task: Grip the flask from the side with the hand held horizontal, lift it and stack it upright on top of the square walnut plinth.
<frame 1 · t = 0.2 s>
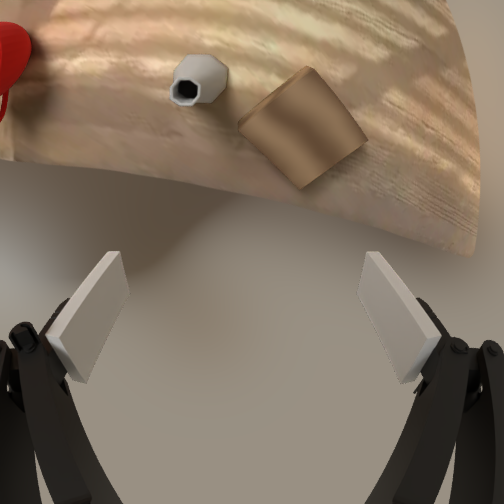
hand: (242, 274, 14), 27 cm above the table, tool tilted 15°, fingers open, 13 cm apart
ceramic cup: (19, 63, 21), on the table
plinth: (301, 123, 34), on the table
flask: (200, 78, 29), on the table
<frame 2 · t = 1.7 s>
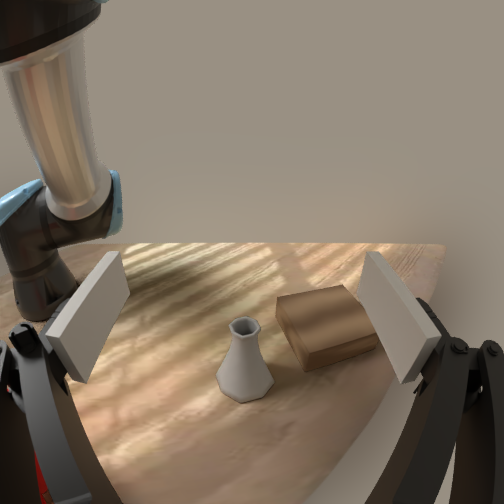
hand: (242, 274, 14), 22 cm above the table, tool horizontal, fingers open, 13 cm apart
plinth: (324, 333, 41), on the table
flask: (244, 381, 33), on the table
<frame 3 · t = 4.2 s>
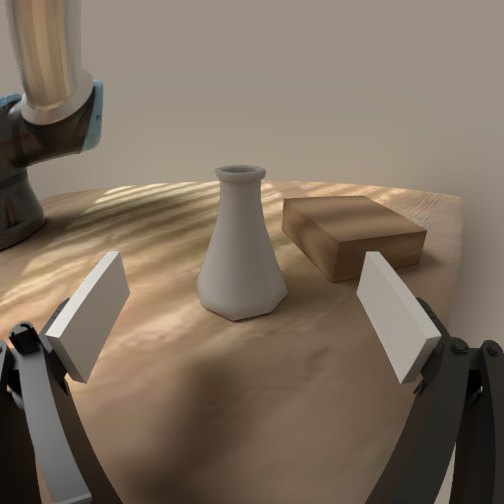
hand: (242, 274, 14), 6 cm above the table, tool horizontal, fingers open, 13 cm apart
plinth: (349, 245, 30), on the table
flask: (240, 294, 23), on the table
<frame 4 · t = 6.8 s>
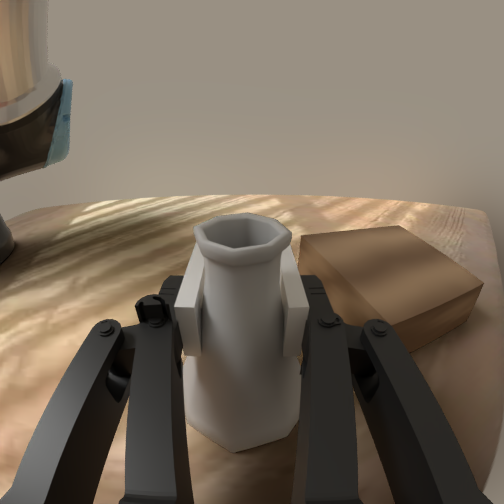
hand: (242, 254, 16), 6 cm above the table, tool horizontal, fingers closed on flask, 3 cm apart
plinth: (385, 299, 22), on the table
flask: (243, 397, 14), on the table, touching gripper
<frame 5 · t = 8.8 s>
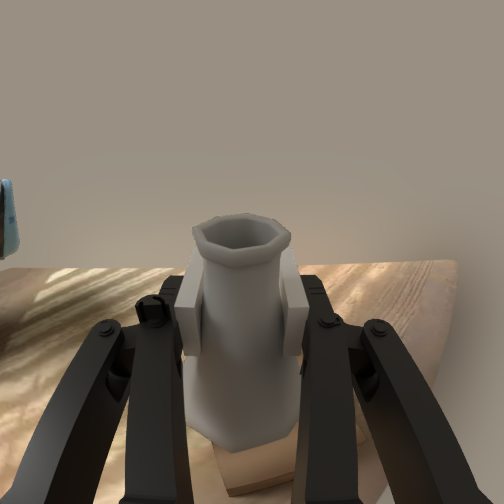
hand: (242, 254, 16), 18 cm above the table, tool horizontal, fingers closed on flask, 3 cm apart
plinth: (272, 429, 23), on the table
flask: (243, 398, 14), point 12 cm above the table, touching gripper
when the fingers open (11 cm above the table, at t = 10.8 s): flask drops 1 cm, resting on plinth.
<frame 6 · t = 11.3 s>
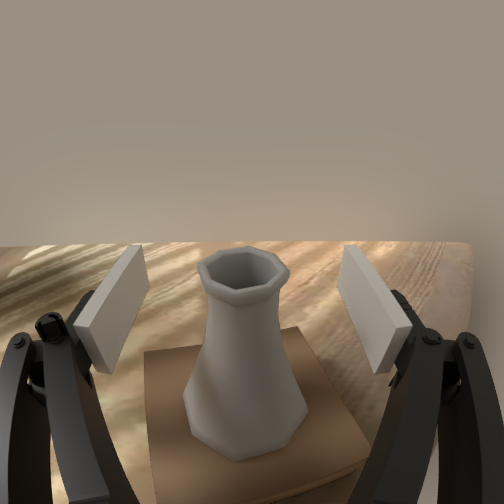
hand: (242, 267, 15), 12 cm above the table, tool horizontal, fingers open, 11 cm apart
plinth: (244, 432, 17), on the table
flask: (244, 409, 15), point 4 cm above the table, touching plinth
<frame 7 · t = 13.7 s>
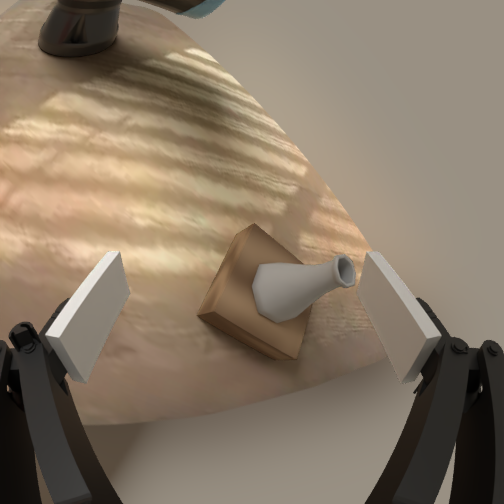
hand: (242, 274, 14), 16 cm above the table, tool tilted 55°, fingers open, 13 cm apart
plinth: (255, 297, 35), on the table
flask: (274, 292, 32), point 4 cm above the table, touching plinth
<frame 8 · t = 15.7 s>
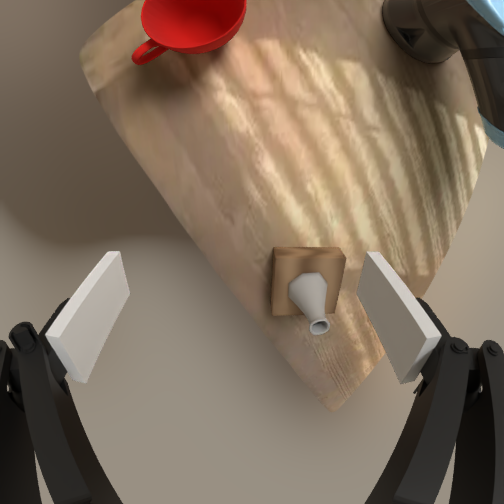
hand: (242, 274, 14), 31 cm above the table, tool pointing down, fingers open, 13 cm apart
ceramic cup: (193, 35, 31), on the table
plinth: (304, 276, 51), on the table
flask: (307, 288, 47), point 4 cm above the table, touching plinth
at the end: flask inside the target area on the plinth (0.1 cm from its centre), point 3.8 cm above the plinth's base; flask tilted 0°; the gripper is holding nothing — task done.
